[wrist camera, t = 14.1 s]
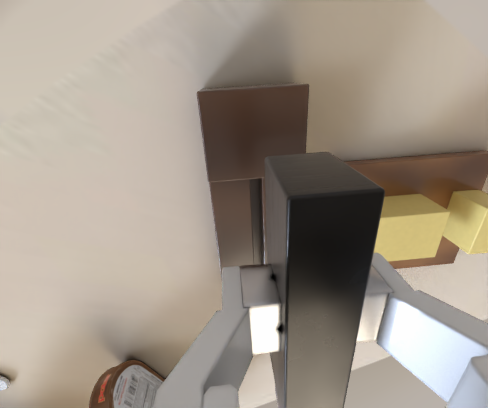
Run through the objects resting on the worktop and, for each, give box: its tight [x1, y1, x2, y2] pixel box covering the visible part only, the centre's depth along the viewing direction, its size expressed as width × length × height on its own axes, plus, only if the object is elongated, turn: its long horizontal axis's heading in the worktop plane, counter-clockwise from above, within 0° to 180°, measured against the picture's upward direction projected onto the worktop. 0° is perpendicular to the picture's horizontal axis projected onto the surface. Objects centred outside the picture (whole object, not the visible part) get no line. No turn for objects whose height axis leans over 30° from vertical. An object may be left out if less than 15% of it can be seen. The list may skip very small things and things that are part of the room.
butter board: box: [344, 150, 488, 269], centre depth 25 cm, size 12×14×1 cm
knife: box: [265, 152, 385, 408], centre depth 11 cm, size 16×2×6 cm, turn 3°
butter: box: [374, 194, 450, 261], centre depth 23 cm, size 4×7×4 cm, turn 93°
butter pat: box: [443, 190, 488, 254], centre depth 23 cm, size 4×2×4 cm, turn 2°
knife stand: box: [197, 83, 309, 278], centre depth 22 cm, size 18×7×4 cm, turn 3°
